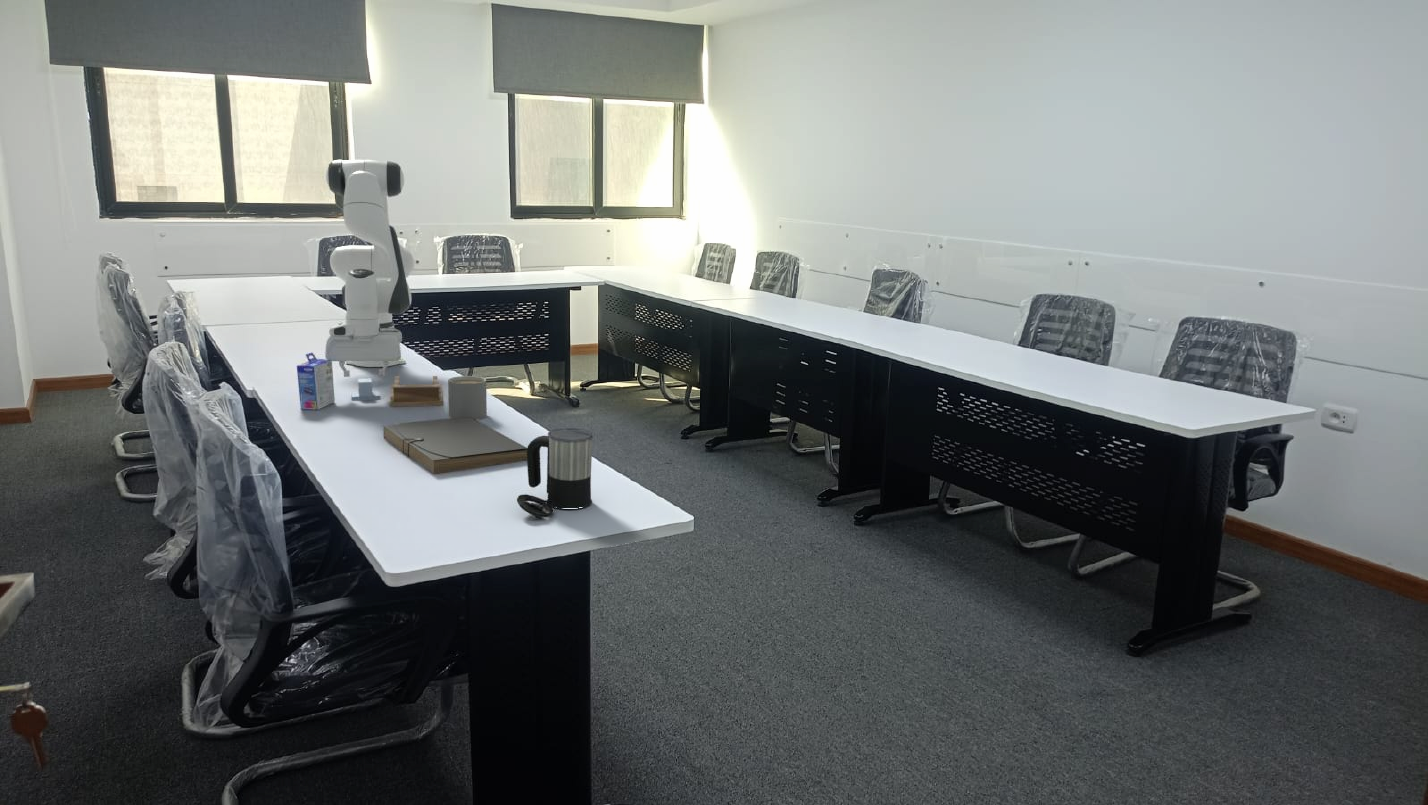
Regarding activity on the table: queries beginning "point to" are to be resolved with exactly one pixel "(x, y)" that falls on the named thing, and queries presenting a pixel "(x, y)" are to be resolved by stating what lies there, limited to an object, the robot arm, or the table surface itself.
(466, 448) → the file folder
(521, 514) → the table surface
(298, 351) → the table surface
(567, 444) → the milk frother
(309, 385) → the ink cartridge box
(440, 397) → the wooden tray
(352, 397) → the grey flanged pedestal
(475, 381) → the coffee mug
